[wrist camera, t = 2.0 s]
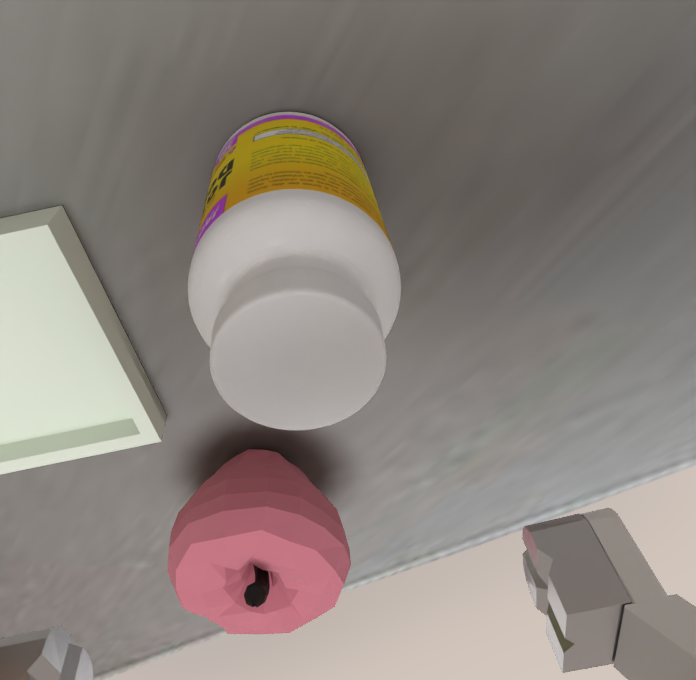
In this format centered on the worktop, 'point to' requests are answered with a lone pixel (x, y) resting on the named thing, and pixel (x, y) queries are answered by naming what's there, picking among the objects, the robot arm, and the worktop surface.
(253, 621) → the apple
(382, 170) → the worktop surface
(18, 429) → the tray
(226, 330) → the supplement bottle
